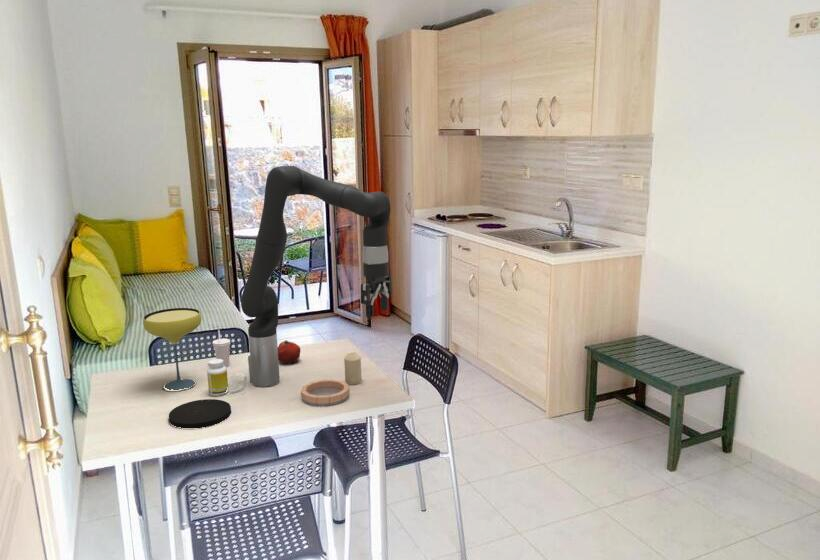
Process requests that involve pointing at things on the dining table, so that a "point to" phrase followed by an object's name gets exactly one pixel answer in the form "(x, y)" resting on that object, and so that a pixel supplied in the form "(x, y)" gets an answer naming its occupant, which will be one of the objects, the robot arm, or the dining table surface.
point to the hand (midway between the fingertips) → (377, 313)
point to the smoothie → (222, 349)
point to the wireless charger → (200, 413)
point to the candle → (352, 369)
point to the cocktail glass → (173, 332)
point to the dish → (325, 392)
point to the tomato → (288, 352)
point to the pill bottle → (217, 377)
